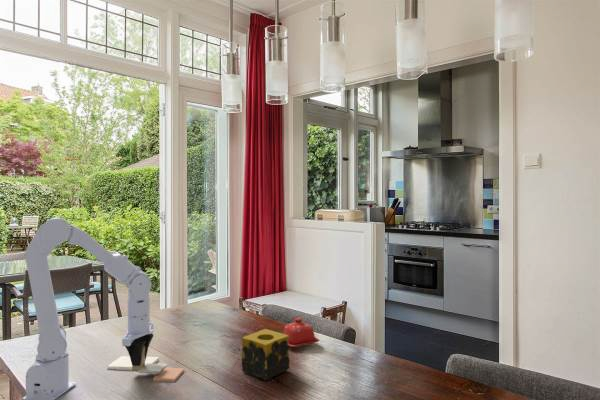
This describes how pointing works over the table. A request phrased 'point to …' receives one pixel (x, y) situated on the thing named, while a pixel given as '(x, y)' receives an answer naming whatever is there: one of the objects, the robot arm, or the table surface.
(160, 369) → the grey plate tan block
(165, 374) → the tile
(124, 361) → the trivet
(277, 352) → the candle
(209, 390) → the table surface
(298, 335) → the butter dish
